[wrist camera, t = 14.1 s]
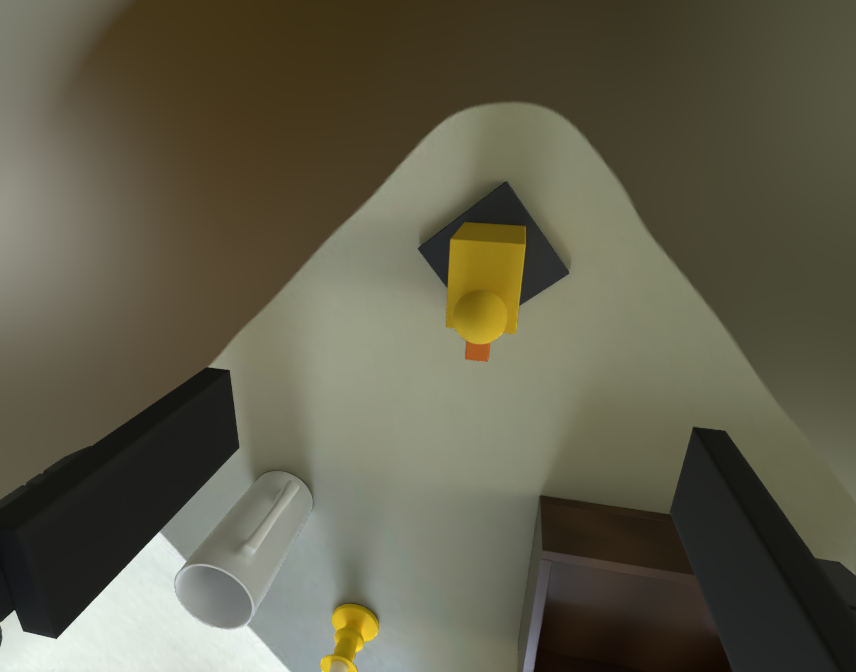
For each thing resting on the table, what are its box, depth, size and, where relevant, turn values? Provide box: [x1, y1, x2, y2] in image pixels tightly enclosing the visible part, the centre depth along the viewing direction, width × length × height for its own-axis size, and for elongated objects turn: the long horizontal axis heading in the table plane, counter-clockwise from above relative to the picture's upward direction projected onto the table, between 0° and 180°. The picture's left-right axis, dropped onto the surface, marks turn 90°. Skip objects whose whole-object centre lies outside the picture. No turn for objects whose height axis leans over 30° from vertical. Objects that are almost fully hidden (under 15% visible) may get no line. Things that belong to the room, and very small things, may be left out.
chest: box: [517, 496, 733, 672], centre depth 42 cm, size 20×19×6 cm
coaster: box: [418, 181, 569, 306], centre depth 36 cm, size 8×8×1 cm
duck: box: [446, 222, 526, 362], centre depth 31 cm, size 4×7×10 cm, turn 178°
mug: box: [174, 471, 313, 630], centre depth 42 cm, size 10×7×12 cm, turn 145°
